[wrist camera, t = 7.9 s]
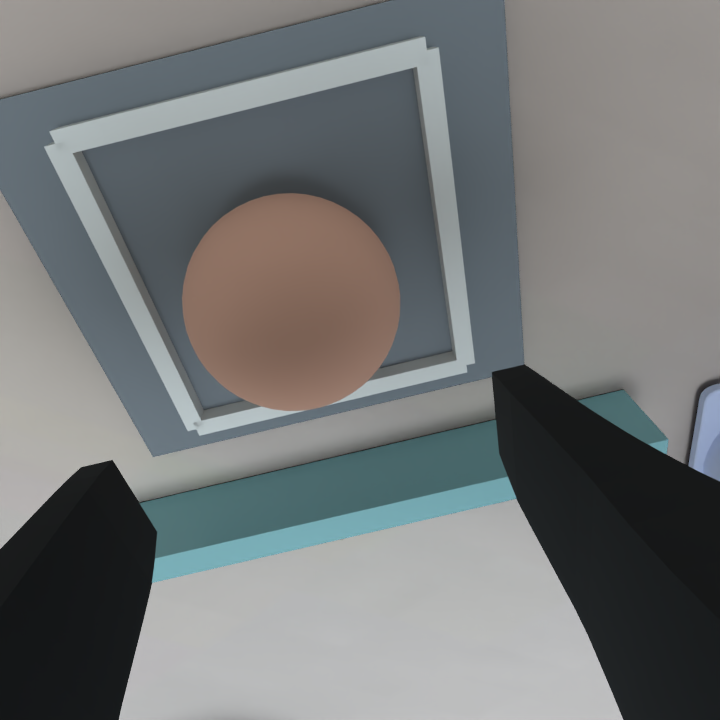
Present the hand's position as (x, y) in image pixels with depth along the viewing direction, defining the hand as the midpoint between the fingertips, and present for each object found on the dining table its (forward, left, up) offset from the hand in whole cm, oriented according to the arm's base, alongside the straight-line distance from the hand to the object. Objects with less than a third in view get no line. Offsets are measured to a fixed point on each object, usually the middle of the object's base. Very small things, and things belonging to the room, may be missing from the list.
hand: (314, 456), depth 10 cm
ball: (0, -1, -8) cm, 8 cm away
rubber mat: (0, -1, -8) cm, 8 cm away
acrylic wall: (-1, +8, -8) cm, 12 cm away
